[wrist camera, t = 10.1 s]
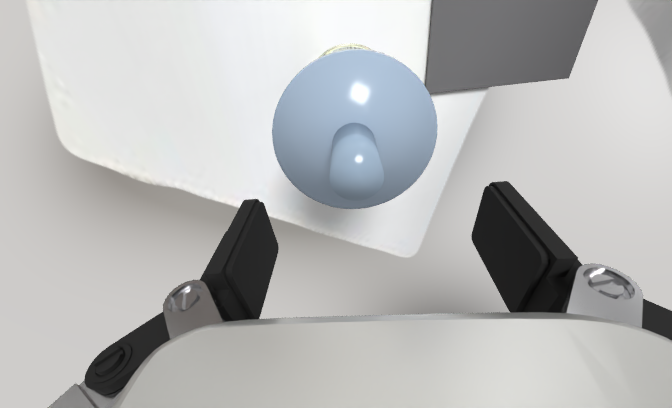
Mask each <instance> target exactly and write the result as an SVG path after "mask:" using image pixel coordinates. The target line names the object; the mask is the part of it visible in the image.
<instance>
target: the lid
mask: <svg viewBox="0 0 672 408" xmlns="http://www.w3.org/2000/svg"><path fill="white" fill-rule="evenodd" d="M272 136H273V145H274V150H275V154H276V157H277V160H278V162H279V164H280V166H281V168H282V170H283V172H284V173H285V175H286V176H287V178H288V179H289V180H290V181H291V182H292V184H293V185H294V186H295V187H297V188H298V189H299V190H300V191H301V192H302V193H304V194H305V195H307V196H308V197H310V198H312V199H313V200H315V201H318V202H320V203H322V204H325V205H329V206H332V207H337V208H345V209H360V208H368V207H372V206H376V205H379V204H382V203H385V202H387V201H389V200H391V199H393V198H395V197H397V196H398V195H400V194H402V193H403V192H404V191H405V190H407V189H408V188H409V187H410V186H411V185H412V184H413V183H414V182H415V181H416V180H417V179H418V178H419V177H420V175H421V174H422V173H423V171H424V170H425V168H426V167H427V165H428V163H429V161H430V159H431V157H432V154H433V151H434V148H435V143H436V138H437V117H436V111H435V107H434V104H433V101H432V99H431V96H430V94H429V92H428V90H427V89H426V87H425V85H424V84H423V83H422V81H421V80H420V79H419V78H418V77H417V75H416V74H415V73H413V72H412V71H411V70H410V69H409V68H408V67H407V66H405V65H404V64H403V63H401V62H400V61H398V60H396V59H395V58H393V57H391V56H389V55H386V54H384V53H381V52H377V51H373V50H367V49H345V50H340V51H335V52H332V53H329V54H327V55H324V56H322V57H320V58H318V59H316V60H314V61H313V62H311V63H310V64H309V65H307V66H306V67H305V68H303V69H302V70H301V71H300V72H299V73H298V74H297V75H296V76H295V77H294V79H293V80H292V81H291V82H290V84H289V85H288V86H287V88H286V89H285V91H284V92H283V94H282V96H281V98H280V100H279V102H278V105H277V108H276V110H275V115H274V119H273V129H272Z"/></svg>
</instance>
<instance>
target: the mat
mask: <svg viewBox="0 0 672 408" xmlns="http://www.w3.org/2000/svg"><path fill="white" fill-rule="evenodd" d="M597 1H598V0H432V12H431V24H430V36H429V48H428V60H427V72H426V84H425V87H426V89H427V90H428V92H429V93H437V92H447V91H456V90H465V89H474V88H483V87H492V86H501V85H510V84H518V83H528V82H538V81H546V80H556V79H565V78H569V76H570V73H571V70H572V68H573V65H574V63H575V60H576V57H577V55H578V52H579V49H580V47H581V44H582V41H583V39H584V36H585V33H586V31H587V28H588V25H589V23H590V20H591V18H592V15H593V12H594V10H595V7H596V4H597Z"/></svg>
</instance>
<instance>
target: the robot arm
mask: <svg viewBox="0 0 672 408" xmlns="http://www.w3.org/2000/svg"><path fill="white" fill-rule="evenodd" d="M472 241H473V243H474V245H475V247H476V249H477V251H478V253H479V255H480V257H481V258H482V260H483V262H484V264H485V266H486V268H487V270H488V272H489V274H490V276H491V278H492V279H493V281H494V283H495V285H496V287H497V289H498V291H499V293H500V295H501V297H502V298H503V300H504V302H505V304H506V306H507V308H508V309H509V311H510V312H511V313H453V314H412V315H411V314H408V315H372V316H371V315H369V316H333V317H301V318H274V319H259V317H260V314H261V310H262V307H263V303H264V300H265V297H266V293H267V289H268V285H269V282H270V279H271V275H272V272H273V268H274V265H275V261H276V258H277V254H278V243H277V240H276V237H275V235H274V232H273V229H272V226H271V223H270V220H269V217H268V214H267V212H266V209H265V206H264V203H263V202H260V201H259V200H258V199H251V200H244V201H243V203H242V205H241V206H240V208H239V210H238V212H237V214H236V216H235V218H234V219H233V221H232V223H231V225H230V227H229V229H228V231H227V232H226V233H225V234H224V236H223V238H222V240H221V242H220V243H219V245H218V247H217V249H216V251H215V253H214V255H213V256H212V258H211V260H210V262H209V264H208V266H207V268H206V270H205V271H204V273H203V275H202V277H201V279H200V280H192V281H187V282H185V283H183V284H181V285H179V286H178V287H176V288H175V289H174V290H173V291H172V292H170V293H169V295H168V296H167V298H166V299H165V302H164V304H163V312H162V313H160V314H159V315H157V316H155V317H154V318H152V319H151V320H149V321H148V322H146V323H145V324H143V325H141V326H140V327H138V328H137V329H135V330H134V331H132V332H131V333H129V334H128V335H126V336H125V337H123V338H121V339H120V340H118V341H117V342H115V343H113V344H112V345H110V346H109V347H108V348H106V349H105V350H104V351H102V352H101V353H100V354H99V355H98V356H97V357H96V358H95V359H94V361H93V362H92V363H91V365H90V366H89V368H88V370H87V372H86V375H85V380H84V381H83V382H82V383H81V384H80V385H77V384H74V385H73V386H72V387H71V388H69V389H68V390H67V391H66V392H65V393H64V394H63V395H62V396H60V397H59V398H58V399H57V400H56V401H55V402H54V403H53V404H51V405H50V406H49V407H48V408H672V311H670V310H668V309H666V308H663V307H661V306H659V305H656V304H654V303H652V302H649V301H647V300H645V299H643V294H642V290H641V289H640V287H639V286H638V285H637V283H636V282H635V281H633V280H632V279H631V278H630V277H629V276H627V275H625V274H623V273H622V272H620V271H618V270H616V269H613V268H611V267H608V266H604V265H601V264H584V265H582V264H581V263H580V262H579V261H578V257H577V256H576V255H575V254H574V253H573V252H572V251H571V250H570V249H569V247H568V246H567V245H566V244H565V243H564V242H563V241H562V240H561V239H560V238H559V237H558V235H557V234H556V233H555V232H554V231H553V230H552V229H551V228H550V227H549V226H548V225H547V224H546V222H545V221H543V219H542V218H541V217H540V216H539V215H538V214H537V212H536V211H535V210H534V209H533V208H532V207H531V206H530V205H529V204H528V203H527V202H526V201H525V200H524V198H523V197H522V196H521V195H520V194H519V193H518V192H517V191H516V190H515V188H514V187H513V186H512V185H511V184H510V183H509V182H507V181H504V182H492V183H490V185H489V186H486V187H485V189H484V192H483V196H482V200H481V203H480V206H479V210H478V214H477V217H476V221H475V225H474V228H473V232H472Z"/></svg>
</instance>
